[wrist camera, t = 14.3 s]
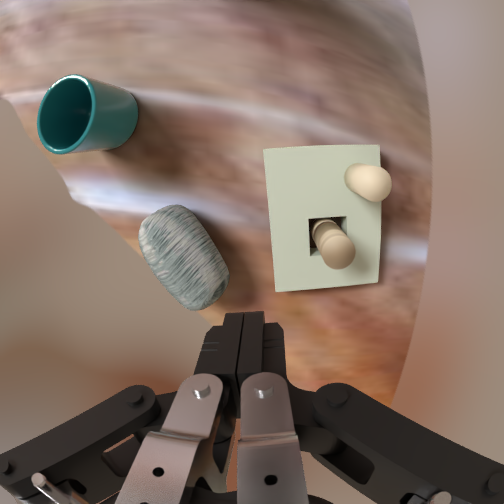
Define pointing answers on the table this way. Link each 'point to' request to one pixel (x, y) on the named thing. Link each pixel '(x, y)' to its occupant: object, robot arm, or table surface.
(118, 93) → the cup
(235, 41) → the table surface
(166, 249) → the spool
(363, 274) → the seat board
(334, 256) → the peg
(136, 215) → the table surface
